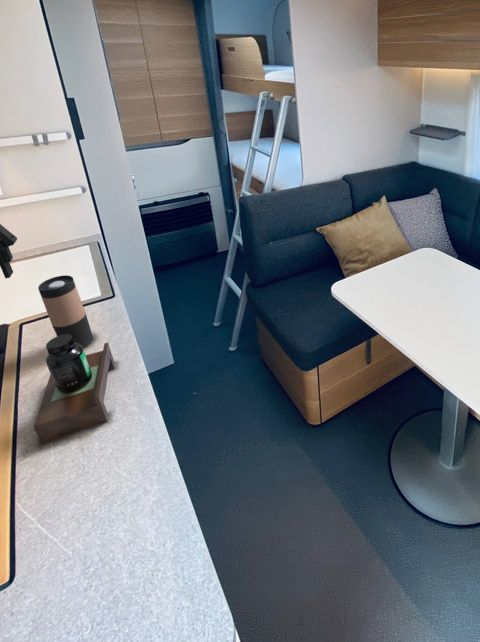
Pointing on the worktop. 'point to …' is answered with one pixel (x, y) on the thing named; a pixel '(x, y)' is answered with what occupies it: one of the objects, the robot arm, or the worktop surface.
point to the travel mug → (66, 309)
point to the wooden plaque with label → (75, 402)
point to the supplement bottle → (67, 364)
